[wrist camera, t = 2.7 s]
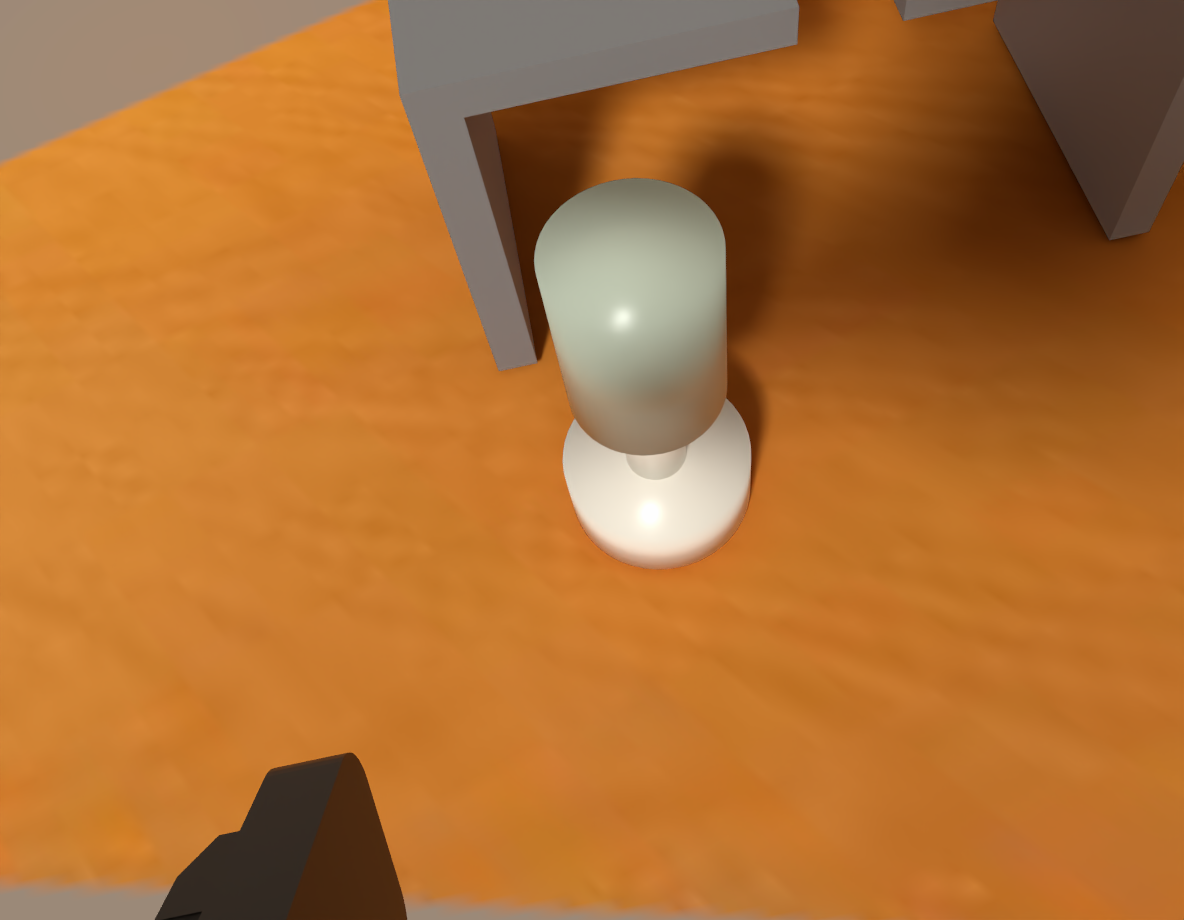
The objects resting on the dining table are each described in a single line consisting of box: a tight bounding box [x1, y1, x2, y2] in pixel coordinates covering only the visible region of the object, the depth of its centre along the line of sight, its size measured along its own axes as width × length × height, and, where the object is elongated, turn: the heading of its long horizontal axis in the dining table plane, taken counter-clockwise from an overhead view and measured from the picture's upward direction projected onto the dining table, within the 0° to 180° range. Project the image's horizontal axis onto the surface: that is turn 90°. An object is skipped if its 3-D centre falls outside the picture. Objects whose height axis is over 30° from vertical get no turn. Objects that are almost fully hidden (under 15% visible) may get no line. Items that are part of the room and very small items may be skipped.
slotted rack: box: [388, 0, 1184, 371], centre depth 31 cm, size 20×10×11 cm, turn 100°
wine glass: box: [534, 178, 751, 569], centre depth 26 cm, size 5×5×10 cm
